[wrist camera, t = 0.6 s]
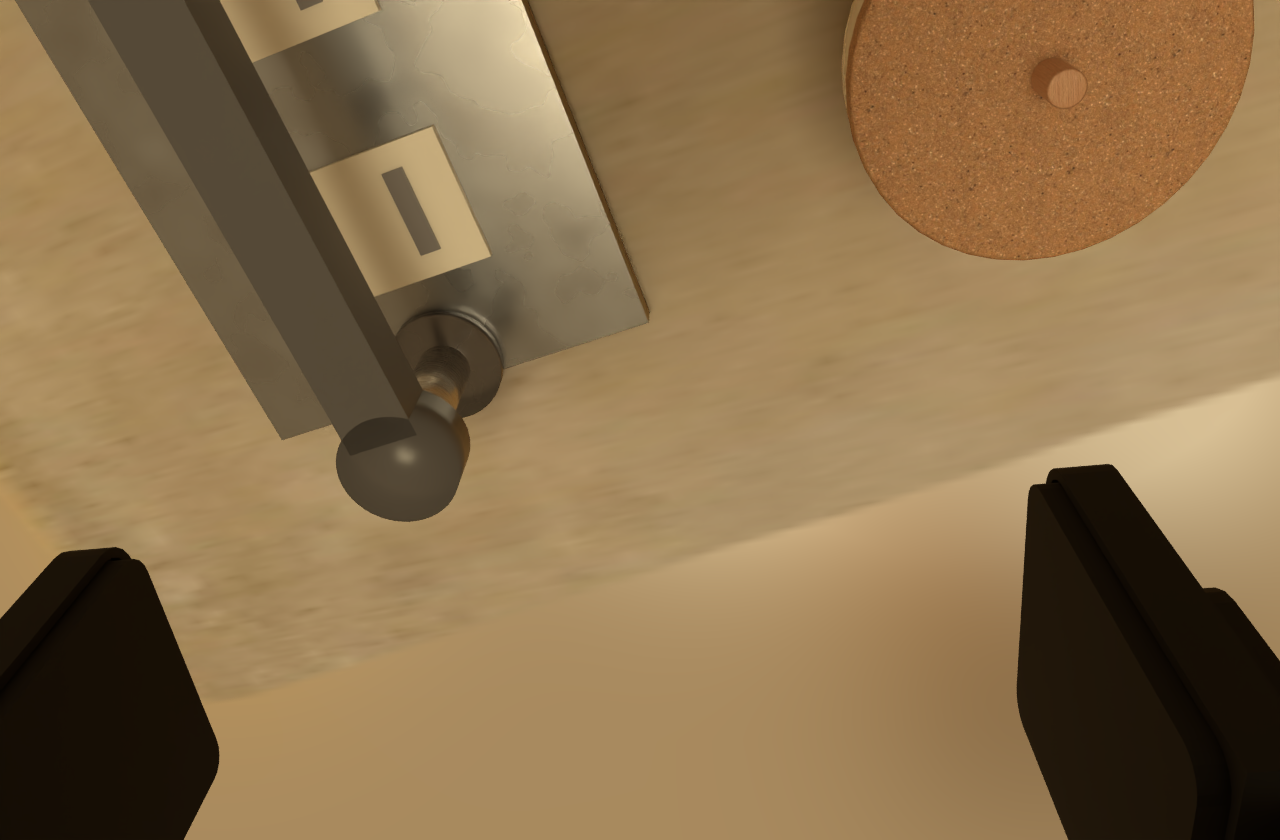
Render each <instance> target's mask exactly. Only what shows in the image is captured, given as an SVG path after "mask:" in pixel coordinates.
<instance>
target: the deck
mask: <svg viewBox="0 0 1280 840" xmlns="http://www.w3.org/2000/svg"><path fill="white" fill-rule="evenodd" d="M15 1H16V3H17V4H18V6H19V8H20V9H21V11H22V13H23V14H24V16H25V18H26V19H27V21H28V22H29V24H30V26H31V27H32V29H33V31H34V32H35V34H36V36H37V37H38V39H39V41H40V42H41V44H42V46H43V47H44V49H45V50H46V52H47V54H48V55H49V57H50V59H51V60H52V62H53V64H54V65H55V67H56V69H57V70H58V72H59V74H60V75H61V77H62V78H63V80H64V82H65V83H66V85H67V87H68V88H69V90H70V92H71V93H72V95H73V97H74V98H75V100H76V102H77V103H78V105H79V106H80V108H81V110H82V111H83V113H84V115H85V116H86V118H87V120H88V121H89V123H90V125H91V126H92V128H93V130H94V131H95V133H96V135H97V136H98V138H99V139H100V141H101V143H102V144H103V146H104V148H105V149H106V151H107V153H108V154H109V156H110V158H111V159H112V161H113V163H114V164H115V166H116V167H117V169H118V171H119V172H120V174H121V176H122V177H123V179H124V181H125V182H126V184H127V186H128V187H129V189H130V191H131V192H132V194H133V195H134V197H135V199H136V200H137V202H138V204H139V205H140V207H141V209H142V210H143V212H144V214H145V215H146V217H147V219H148V220H149V222H150V223H151V225H152V227H153V228H154V230H155V232H156V233H157V235H158V237H159V238H160V240H161V242H162V243H163V245H164V247H165V248H166V250H167V251H168V253H169V255H170V256H171V258H172V260H173V261H174V263H175V265H176V266H177V268H178V270H179V271H180V273H181V275H182V276H183V278H184V279H185V281H186V283H187V284H188V286H189V288H190V289H191V291H192V293H193V294H194V296H195V298H196V299H197V301H198V303H199V304H200V306H201V307H202V309H203V311H204V312H205V314H206V316H207V317H208V319H209V321H210V322H211V324H212V326H213V327H214V329H215V331H216V332H217V334H218V335H219V337H220V339H221V340H222V342H223V344H224V345H225V347H226V349H227V350H228V352H229V354H230V355H231V357H232V359H233V360H234V362H235V363H236V365H237V367H238V368H239V370H240V372H241V373H242V375H243V377H244V378H245V380H246V382H247V383H248V385H249V387H250V388H251V390H252V391H253V393H254V395H255V396H256V398H257V400H258V401H259V403H260V405H261V406H262V408H263V410H264V411H265V413H266V415H267V416H268V418H269V419H270V421H271V423H272V424H273V426H274V428H275V429H276V431H277V433H278V434H279V436H280V438H281V439H282V440H284V439H288V438H291V437H294V436H297V435H300V434H303V433H306V432H309V431H312V430H316V429H319V428H322V427H325V426H328V425H331V424H332V423H331V421H330V419H329V418H328V416H327V414H326V412H325V411H324V409H323V407H322V406H321V404H320V402H319V400H318V399H317V397H316V395H315V393H314V392H313V390H312V388H311V386H310V385H309V383H308V381H307V380H306V378H305V376H304V374H303V373H302V371H301V369H300V367H299V366H298V364H297V362H296V360H295V359H294V357H293V355H292V354H291V352H290V350H289V348H288V347H287V345H286V343H285V341H284V340H283V338H282V336H281V334H280V333H279V331H278V329H277V328H276V326H275V324H274V322H273V321H272V319H271V317H270V315H269V314H268V312H267V310H266V308H265V307H264V305H263V303H262V301H261V300H260V298H259V296H258V295H257V293H256V291H255V289H254V288H253V286H252V284H251V282H250V281H249V279H248V277H247V275H246V274H245V272H244V270H243V269H242V267H241V265H240V263H239V262H238V260H237V258H236V256H235V255H234V253H233V251H232V249H231V248H230V246H229V244H228V243H227V241H226V239H225V237H224V236H223V234H222V232H221V230H220V229H219V227H218V225H217V223H216V222H215V220H214V218H213V217H212V215H211V213H210V211H209V210H208V208H207V206H206V204H205V203H204V201H203V199H202V197H201V196H200V194H199V192H198V190H197V189H196V187H195V185H194V184H193V182H192V180H191V178H190V177H189V175H188V173H187V171H186V170H185V168H184V166H183V164H182V163H181V161H180V159H179V158H178V156H177V154H176V152H175V151H174V149H173V147H172V145H171V144H170V142H169V140H168V138H167V137H166V135H165V133H164V132H163V130H162V128H161V126H160V125H159V123H158V121H157V119H156V118H155V116H154V114H153V112H152V111H151V109H150V107H149V106H148V104H147V102H146V100H145V99H144V97H143V95H142V93H141V92H140V90H139V88H138V86H137V85H136V83H135V81H134V79H133V78H132V76H131V74H130V73H129V71H128V69H127V67H126V66H125V64H124V62H123V60H122V59H121V57H120V55H119V53H118V52H117V50H116V48H115V47H114V45H113V43H112V41H111V40H110V38H109V36H108V34H107V33H106V31H105V29H104V27H103V26H102V24H101V22H100V21H99V19H98V17H97V15H96V14H95V12H94V10H93V8H92V7H91V5H90V3H89V1H88V0H15ZM377 1H378V4H379V6H380V8H381V10H380V11H378V12H376V13H373V14H371V15H368V16H366V17H363V18H361V19H358V20H356V21H353V22H351V23H349V24H346V25H344V26H341V27H339V28H336V29H334V30H331V31H329V32H326V33H324V34H322V35H319V36H317V37H314V38H312V39H309V40H307V41H304V42H302V43H299V44H297V45H295V46H292V47H290V48H287V49H285V50H282V51H280V52H277V53H275V54H272V55H270V56H268V57H265V58H263V59H260V60H258V61H255V62H253V65H254V67H255V69H256V71H257V73H258V75H259V77H260V79H261V81H262V82H263V84H264V86H265V88H266V90H267V92H268V94H269V96H270V98H271V100H272V102H273V104H274V106H275V107H276V109H277V111H278V113H279V115H280V117H281V119H282V121H283V123H284V125H285V127H286V129H287V130H288V132H289V134H290V136H291V138H292V140H293V142H294V144H295V146H296V148H297V150H298V152H299V153H300V155H301V157H302V159H303V161H304V163H305V165H306V167H307V169H308V171H309V172H310V171H312V170H315V169H318V168H320V167H323V166H326V165H328V164H331V163H334V162H336V161H339V160H342V159H344V158H347V157H349V156H352V155H355V154H357V153H360V152H363V151H365V150H368V149H371V148H373V147H376V146H379V145H381V144H384V143H386V142H389V141H392V140H394V139H397V138H400V137H402V136H405V135H408V134H410V133H413V132H416V131H418V130H421V129H423V128H426V127H429V126H431V125H434V127H435V129H436V131H437V133H438V135H439V138H440V140H441V142H442V144H443V146H444V149H445V151H446V153H447V155H448V157H449V160H450V162H451V164H452V166H453V168H454V171H455V173H456V175H457V177H458V179H459V181H460V184H461V186H462V188H463V190H464V192H465V195H466V197H467V199H468V201H469V203H470V206H471V208H472V210H473V212H474V214H475V217H476V219H477V221H478V223H479V225H480V228H481V230H482V232H483V234H484V236H485V239H486V241H487V243H488V245H489V247H490V250H491V252H492V255H491V257H488V258H485V259H482V260H479V261H476V262H473V263H470V264H468V265H465V266H462V267H459V268H456V269H453V270H450V271H447V272H444V273H442V274H439V275H436V276H433V277H430V278H427V279H424V280H421V281H418V282H415V283H413V284H410V285H407V286H404V287H401V288H398V289H395V290H392V291H389V292H387V293H384V294H381V295H378V296H375V299H376V301H377V303H378V305H379V307H380V309H381V311H382V313H383V315H384V317H385V318H386V320H387V322H388V324H389V326H390V328H391V330H392V332H393V334H394V336H395V338H396V340H397V341H398V343H399V345H400V347H401V349H402V351H403V353H404V355H405V357H406V359H407V361H408V363H409V364H410V366H411V368H412V370H413V372H414V374H415V376H416V378H417V380H418V382H419V384H420V386H421V388H422V389H423V390H424V391H427V392H430V393H432V394H434V395H437V396H439V397H440V398H442V399H443V400H445V401H446V402H447V403H449V404H450V405H451V406H452V407H453V408H454V409H455V410H456V411H457V412H458V413H459V415H460V416H461V417H462V418H463V417H467V416H470V415H473V414H475V413H477V412H479V411H481V410H482V409H483V408H485V407H486V406H487V405H488V404H489V403H490V402H491V401H492V399H493V398H494V397H495V395H496V393H497V391H498V388H499V385H500V382H501V380H502V376H503V369H506V368H509V367H512V366H515V365H518V364H521V363H524V362H527V361H531V360H534V359H537V358H540V357H543V356H546V355H549V354H552V353H556V352H559V351H562V350H565V349H568V348H571V347H574V346H577V345H580V344H584V343H587V342H590V341H593V340H596V339H599V338H602V337H605V336H608V335H612V334H615V333H618V332H621V331H624V330H627V329H630V328H633V327H637V326H640V325H643V324H646V323H649V313H650V312H649V309H648V307H647V304H646V302H645V299H644V297H643V294H642V291H641V289H640V286H639V284H638V281H637V279H636V276H635V274H634V271H633V269H632V266H631V263H630V261H629V258H628V256H627V253H626V251H625V248H624V246H623V243H622V240H621V238H620V235H619V233H618V230H617V228H616V225H615V223H614V220H613V218H612V215H611V212H610V210H609V207H608V205H607V202H606V200H605V197H604V195H603V192H602V189H601V187H600V184H599V182H598V179H597V177H596V174H595V172H594V169H593V167H592V164H591V161H590V159H589V156H588V154H587V151H586V149H585V146H584V144H583V141H582V138H581V136H580V133H579V131H578V128H577V126H576V123H575V121H574V118H573V116H572V113H571V110H570V108H569V105H568V103H567V100H566V98H565V95H564V93H563V90H562V87H561V85H560V82H559V80H558V77H557V75H556V72H555V70H554V67H553V65H552V62H551V59H550V57H549V54H548V52H547V49H546V47H545V44H544V42H543V39H542V36H541V34H540V31H539V29H538V26H537V24H536V21H535V19H534V16H533V14H532V11H531V8H530V6H529V3H528V1H527V0H377Z"/></svg>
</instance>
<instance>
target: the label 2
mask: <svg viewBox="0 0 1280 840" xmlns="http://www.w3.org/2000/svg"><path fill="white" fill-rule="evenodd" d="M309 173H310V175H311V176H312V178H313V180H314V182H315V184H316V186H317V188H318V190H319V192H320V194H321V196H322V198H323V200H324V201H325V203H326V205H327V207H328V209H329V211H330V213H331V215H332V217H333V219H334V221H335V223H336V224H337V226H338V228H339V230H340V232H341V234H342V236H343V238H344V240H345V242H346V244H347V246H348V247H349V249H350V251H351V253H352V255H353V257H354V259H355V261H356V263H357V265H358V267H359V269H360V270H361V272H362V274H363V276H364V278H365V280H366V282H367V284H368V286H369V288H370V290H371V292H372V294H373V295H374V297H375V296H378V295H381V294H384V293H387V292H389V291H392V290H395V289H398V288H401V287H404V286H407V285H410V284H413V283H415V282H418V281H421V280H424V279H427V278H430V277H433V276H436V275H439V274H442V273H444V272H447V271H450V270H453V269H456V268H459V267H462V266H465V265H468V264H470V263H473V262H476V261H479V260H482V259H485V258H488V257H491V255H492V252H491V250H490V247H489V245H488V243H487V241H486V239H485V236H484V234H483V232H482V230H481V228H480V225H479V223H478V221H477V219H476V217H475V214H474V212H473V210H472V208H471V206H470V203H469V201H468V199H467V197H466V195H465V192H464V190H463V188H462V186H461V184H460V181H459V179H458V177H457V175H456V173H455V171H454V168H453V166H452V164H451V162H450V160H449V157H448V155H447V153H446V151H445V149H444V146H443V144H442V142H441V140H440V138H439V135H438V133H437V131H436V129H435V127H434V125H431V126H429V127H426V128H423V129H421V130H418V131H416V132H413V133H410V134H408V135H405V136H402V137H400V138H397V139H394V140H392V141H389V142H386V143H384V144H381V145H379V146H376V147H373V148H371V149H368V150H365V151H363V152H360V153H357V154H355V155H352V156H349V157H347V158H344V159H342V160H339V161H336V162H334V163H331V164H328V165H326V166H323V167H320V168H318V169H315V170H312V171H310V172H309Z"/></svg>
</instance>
